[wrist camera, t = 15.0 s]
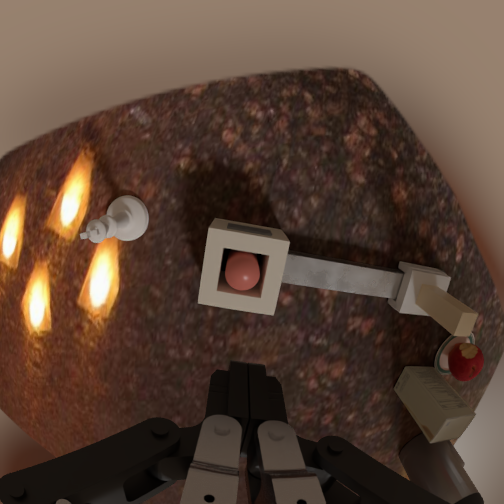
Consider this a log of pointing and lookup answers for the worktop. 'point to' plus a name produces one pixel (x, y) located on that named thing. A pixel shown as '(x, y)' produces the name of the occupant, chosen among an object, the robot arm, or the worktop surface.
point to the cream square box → (249, 240)
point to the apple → (459, 358)
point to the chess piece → (119, 221)
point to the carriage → (432, 299)
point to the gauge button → (242, 269)
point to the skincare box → (433, 403)
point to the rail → (341, 275)
